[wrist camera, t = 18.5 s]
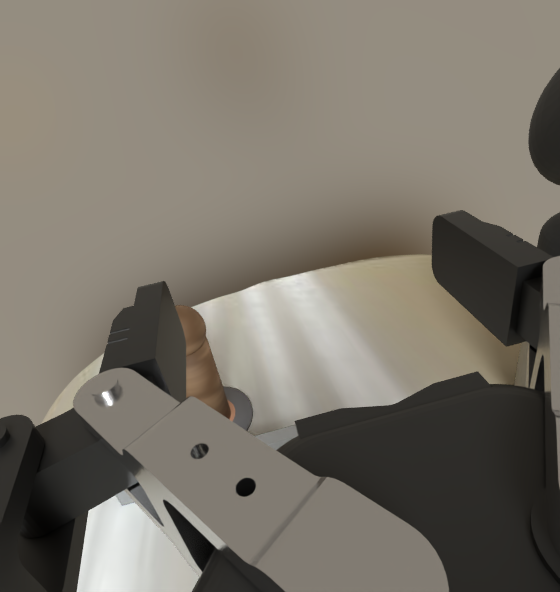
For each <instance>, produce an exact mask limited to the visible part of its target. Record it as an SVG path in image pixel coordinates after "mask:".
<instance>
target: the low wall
mask: <svg viewBox="0 0 560 592" xmlns="http://www.w3.org/2000/svg"><path fill="white" fill-rule="evenodd" d="M297 436H298V433H297V429H296V425H292V426H289V427H285V428H282V429H278V430H274V431H271V432H267V433H264V434H260V435H257V436H255V437H257V438H258V439H260V440H261V441H263V442H264V443H266V444H267V445H269V446H270V447H272V448H273V449H275V450H277V449H278V448H280V447H281V446H282V445H284V444H285V443H287V442H288V441H290V440H291V439H293V438H295V437H297ZM115 496H116V497H117V499H118V500H119V502H120V503H121V505H122V506H123V505H127V504H130V503H134V501H133V500H132V499H131V498H130V497H129V496H128V494H127V493H126V492H125V491H124V490H123V491H122V492H120V493H118V494H116V495H115Z"/></svg>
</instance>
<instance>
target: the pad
mask: <svg viewBox="0 0 560 592" xmlns="http://www.w3.org/2000/svg"><path fill="white" fill-rule="evenodd" d="M223 388H224V391H225V395H226V398H227V401H228V404H229V407H230V410H231V416H230V419H229V420H231V421H232V422H234V423H235V424H237V425H238V426H240V427H241V428H243V429H244V430H246V431H247V430H248V428H249V426H250V424H251V421H252V416H253V411H252V406H251V403H250V400H249V398H248V397H247V396H246V395H245V394H244V393H243V392H241V391H240V390H238V389H235V388H231V387H223Z"/></svg>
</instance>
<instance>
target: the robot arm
mask: <svg viewBox="0 0 560 592" xmlns="http://www.w3.org/2000/svg"><path fill="white" fill-rule="evenodd" d="M529 151H530V155H531V158H532V161H533V163H534V165H535V167H536V168H537V169H538V171H539V172H540V174H541V175H543V176H544V177H545V178H546V179H547V180H549V181H551V182H553V183H555V184H557V185H560V69H559V70H558V71H557V72H556V73H555V75H554V76H553V77H552V79H551V80H550V82H549V83H548V84H547V86H546V87H545V89H544V91H543V93H542V95H541V96H540V98H539V100H538V103H537V105H536V108H535V110H534V113H533V116H532V119H531V124H530V129H529ZM432 270H433V274H434V276H435V278H436V280H437V282H438V283H439V284H440V285H441V286H442V287H443V288H444V289H445V290H446V291H448V292H449V293H450V294H451V295H452V296H453V297H454V298H455V299H456V300H457V301H458V302H459V303H460V304H461V305H462V306H464V307H465V308H466V309H467V310H468V311H469V312H470V313H471V314H472V315H473V316H474V317H475V318H476V319H477V320H478V321H480V322H481V323H482V324H483V325H484V326H485V327H486V328H487V329H488V330H489V331H490V332H491V333H492V334H493V335H494V336H496V337H497V338H498V339H499V340H500V341H501V342H502V343H503V344H504V345H505V346H506V347H507V346H511V345H514V344H518V343H521V347H520V353H519V359H518V363H517V370H516V376H515V382H514V385H506V384H489V383H488V382H487V381H486V380H485V379H484V378H483V377H482V376H481V375H480V373H479V372H474V373H470V374H467V375H463V376H459V377H456V378H452V379H448V380H444V381H441V382H437V383H434V384H432V385H430V386H428V387H426V388H424V389H422V390H421V391H419V392H417V393H415V394H413V395H411V396H409V397H408V398H406V399H404V400H402V401H400V402H398V403H396V404H393V405H388V406H373V407H357V408H342V409H337V410H334V411H330V412H326V413H323V414H319V415H315V416H311V417H308V418H304V419H300V420H297V421H295V424H296V429H297V433H298V436H297V437H295V438H293V439H291V440H290V441H288V442H287V443H285V444H284V445H282V446H281V447H280V448H278V449H277V450H275V449H273V448H272V447H270V446H269V445H267V444H266V443H264V442H263V441H261V440H260V439H258V438H257V437H255V436H254V435H252V434H251V433H249V432H247V431H246V430H244V429H243V428H241V427H240V426H238V425H237V424H235V423H234V422H232V421H231V420H229V419H228V418H226V417H225V416H223V415H222V414H220V413H219V412H217V411H216V410H214V409H213V408H211V407H209V406H208V405H206V404H205V403H203V402H202V401H200V400H199V399H197V398H195V397H193V396H189V397H187V398H186V340H185V335H184V331H183V327H182V324H181V321H180V319H179V316H178V313H177V310H176V308H175V305H174V302H173V299H172V297H171V294H170V291H169V289H168V286H167V284H166V282H165V281H162V282H158V283H154V284H150V285H146V286H141V287H138V289H137V293H136V298H135V303H134V306H131V307H127V308H124V309H123V310H122V311H121V312H120V313H119V314H118V315H117V317H116V318H115V319H114V320H113V323H112V327H111V331H110V335H109V338H108V344H107V346H106V349H105V353H104V357H103V361H102V364H101V368H100V372H99V374H98V375H96V376H94V377H93V378H91V379H90V380H88V381H87V382H86V383H85V384H84V385H83V386H82V387H81V388H80V389H79V390H78V392H77V393H76V395H75V397H74V400H73V406H74V408H72V409H71V410H69V411H67V412H65V413H63V414H61V415H59V416H57V417H55V418H53V419H51V420H49V421H47V422H45V423H43V424H41V425H38V426H36V427H35V426H34V424H33V423H32V421H31V420H30V419H29V418H28V417H26V416H23V415H11V416H7V417H4V418H1V419H0V592H76V591H77V584H78V578H79V571H80V564H81V557H82V551H83V544H84V537H85V530H86V523H87V517H88V511H89V510H90V509H92V508H94V507H96V506H97V505H99V504H101V503H102V502H104V501H106V500H108V499H109V498H111V497H113V496H115V495H116V494H118V493H120V492H122V491H123V490H124V491H125V492H126V493H127V494H128V496H129V497H130V498H131V499H132V500H133V501H134V502H135V503H136V504H137V505H138V506H139V507H140V508H141V509H142V511H143V512H144V513H145V514H146V515H147V516H148V517H149V518H150V519H151V520H152V521H153V522H154V523H155V524H156V526H157V527H158V528H159V529H160V530H161V531H162V532H163V533H164V534H165V535H166V536H167V537H168V539H169V540H170V541H171V542H172V543H173V545H174V546H175V547H176V549H177V550H178V551H179V553H180V554H181V556H182V557H183V558H184V560H185V561H186V562H187V563H188V565H189V566H190V567H191V568H192V570H193V571H194V572H195V573H196V574H197V575H198V576H199V577H200V578H199V579H198V581H197V583H196V585H195V587H194V589H193V591H192V592H560V213H558V214H556V215H554V216H553V217H551V218H550V219H549V220H548V221H547V222H546V223H545V224H544V225H543V227H542V229H541V232H540V235H539V240H538V245H537V247H535V246H533V245H532V244H530V243H528V242H526V241H523V239H521V238H519V237H518V236H516V235H513V234H512V233H511V232H509V231H507V230H506V229H504V228H502V227H500V226H497V225H493V224H489V223H485V222H482V221H480V220H479V219H477V218H475V217H474V216H472V215H470V214H469V213H467V212H465V211H463V210H460V211H456V212H451V213H447V214H443V215H439V216H436V217H435V219H434V221H433V230H432Z"/></svg>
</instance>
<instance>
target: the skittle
mask: <svg viewBox="0 0 560 592" xmlns="http://www.w3.org/2000/svg"><path fill="white" fill-rule="evenodd" d="M175 308H176V310H177V313H178V316H179V319H180V321H181V324H182V327H183V331H184V335H185V340H186V398H187V397H189V396H193V397H195V398H197V399H199V400H200V401H202V402H203V403H205V404H206V405H208V406H209V407H211V408H213V409H214V410H216V411H217V412H219V413H220V414H222V415H223V416H225V417H226V418H228V419H230V416H231V410H230V407H229V404H228V401H227V398H226V395H225V391H224V388H223V385H222V382H221V379H220V376H219V373H218V370H217V367H216V364H215V361H214V358H213V355H212V352H211V349H210V346H209V343H208V340H207V338H206V326H205V322H204V320H203V318H202V316H201V315H200V314H199V313H198V312H197V311H196V310H194V309H193V308H191V307H188V306H182V305H176V306H175Z"/></svg>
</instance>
